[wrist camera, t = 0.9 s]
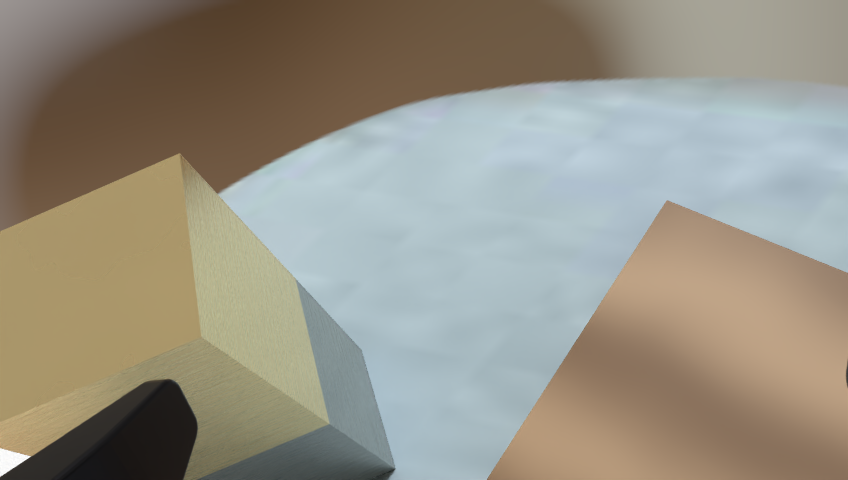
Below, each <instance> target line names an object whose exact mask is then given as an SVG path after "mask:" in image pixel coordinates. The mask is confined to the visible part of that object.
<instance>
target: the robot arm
mask: <svg viewBox="0 0 848 480" xmlns="http://www.w3.org/2000/svg"><path fill="white" fill-rule="evenodd" d="M846 382H847V387H848V361H847V368H846ZM197 433H198V422H197V418H196V416H195V414H194V412H193V410H192V408H191V406H190V404H189V402H188V401H187V399H186V397H185V395H184V393H183V391H182V389H181V387H180V386H179V384H178V383H177V382H176V381H174V380H172V379H160V380H150V381H146V382H144V383H142V384H141V385H139V386H138V387H136V388H134V389H133V390H131V391H130V392H128V393H127V394H125V395H124V396H122V397H121V398H119V399H118V400H116V401H115V402H113V403H112V404H110V405H109V406H107V407H106V408H104V409H103V410H101V411H100V412H98V413H97V414H95V415H94V416H92V417H91V418H89V419H87V420H86V421H84V422H83V423H81V424H80V425H78V426H77V427H75V428H74V429H72V430H71V431H69V432H68V433H66V434H65V435H63V436H62V437H60V438H59V439H57V440H56V441H54V442H53V443H51V444H50V445H48V446H47V447H45V448H44V449H42V450H40V451H39V452H37V453H36V454H34V455H33V456H31V457H30V458H28V459H27V460H25V461H24V462H22V463H21V464H19V465H18V466H16V467H15V468H13V469H12V470H10V471H9V472H7V473H6V474H4V475H3V476H1V477H0V480H184V477H185V474H186V470H187V467H188V464H189V460H190V457H191V454H192V451H193V447H194V444H195V441H196V438H197Z"/></svg>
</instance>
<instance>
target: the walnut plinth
mask: <svg viewBox="0 0 848 480" xmlns="http://www.w3.org/2000/svg"><path fill="white" fill-rule="evenodd" d="M847 361H848V273H846V272H844V271H841V270H839V269H836V268H834V267H831V266H829V265H827V264H824V263H822V262H819V261H817V260H814V259H812V258H809V257H807V256H804V255H802V254H799V253H797V252H794V251H792V250H789V249H787V248H784V247H782V246H779V245H777V244H774V243H772V242H769V241H767V240H764V239H762V238H759V237H757V236H754V235H752V234H749V233H747V232H745V231H742V230H740V229H737V228H735V227H732V226H730V225H727V224H725V223H722V222H720V221H717V220H715V219H712V218H710V217H707V216H705V215H702V214H700V213H697V212H695V211H692V210H690V209H687V208H685V207H682V206H680V205H677V204H675V203H672V202H670V201H666V202H665V204H664V206H663V207H662V209H661V210H660V212H659V213H658V215H657V216H656V218H655V220H654V221H653V223H652V224H651V226H650V227H649V229H648V230H647V232H646V233H645V235H644V237H643V238H642V240H641V241H640V243H639V244H638V246H637V247H636V249H635V251H634V252H633V254H632V255H631V257H630V258H629V260H628V261H627V263H626V264H625V266H624V268H623V269H622V271H621V272H620V274H619V275H618V277H617V278H616V280H615V282H614V283H613V285H612V286H611V288H610V289H609V291H608V292H607V294H606V296H605V297H604V299H603V300H602V302H601V303H600V305H599V306H598V308H597V309H596V311H595V313H594V314H593V316H592V317H591V319H590V320H589V322H588V323H587V325H586V327H585V328H584V330H583V331H582V333H581V334H580V336H579V337H578V339H577V340H576V342H575V344H574V345H573V347H572V348H571V350H570V351H569V353H568V354H567V356H566V358H565V359H564V361H563V362H562V364H561V365H560V367H559V368H558V370H557V372H556V373H555V375H554V376H553V378H552V379H551V381H550V382H549V384H548V385H547V387H546V389H545V390H544V392H543V393H542V395H541V396H540V398H539V399H538V401H537V403H536V404H535V406H534V407H533V409H532V410H531V412H530V413H529V415H528V416H527V418H526V420H525V421H524V423H523V424H522V426H521V427H520V429H519V430H518V432H517V434H516V435H515V437H514V438H513V440H512V441H511V443H510V444H509V446H508V447H507V449H506V451H505V452H504V454H503V455H502V457H501V458H500V460H499V461H498V463H497V465H496V466H495V468H494V469H493V471H492V472H491V474H490V475H489V477H488V479H487V480H848V387H847V382H846V368H847Z"/></svg>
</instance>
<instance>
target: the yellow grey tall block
mask: <svg viewBox="0 0 848 480" xmlns="http://www.w3.org/2000/svg"><path fill="white" fill-rule="evenodd" d="M160 379H172V380H174V381H176V382H177V383H178V384H179V386H180V387H181V389H182V391H183V393H184V395H185V397H186V399H187V401H188V402H189V404H190V406H191V408H192V410H193V412H194V414H195V416H196V418H197V422H198V433H197V438H196V441H195V444H194V447H193V451H192V454H191V457H190V460H189V464H188V467H187V470H186V474H185V477H184V480H369V479H372V478H374V477H377V476H379V475H381V474H384V473H386V472H389V471H391V470H394V469H395V465H394V462H393V458H392V455H391V451H390V448H389V444H388V441H387V437H386V434H385V430H384V427H383V424H382V420H381V417H380V413H379V410H378V406H377V403H376V399H375V396H374V392H373V389H372V385H371V382H370V378H369V375H368V371H367V368H366V364H365V361H364V357H363V354H362V350H361V349H360V348H359V347H358V346H357V345H356V344H355V343H354V341H353V340H352V339H351V338H350V337H349V336H348V335H347V334H346V333H345V332H344V331H343V330H342V328H341V327H340V326H339V325H338V324H337V323H336V322H335V321H334V320H333V319H332V318H331V317H330V315H329V314H328V313H327V312H326V311H325V310H324V309H323V308H322V307H321V306H320V305H319V304H318V303H317V301H316V300H315V299H314V298H313V297H312V296H311V295H310V294H309V293H308V292H307V291H306V290H305V288H304V287H303V286H302V285H301V284H300V283H299V282H298V281H297V280H296V279H295V278H294V277H293V276H292V274H291V273H290V272H289V271H288V270H287V269H286V268H285V267H284V266H283V265H282V264H281V263H280V261H279V260H278V259H277V258H276V257H275V256H274V255H273V254H272V253H271V252H270V251H269V250H268V248H267V247H266V246H265V245H264V244H263V243H262V242H261V241H260V240H259V239H258V238H257V237H256V236H255V234H254V233H253V232H252V231H251V230H250V229H249V228H248V227H247V226H246V225H245V224H244V223H243V221H242V220H241V219H240V218H239V217H238V216H237V215H236V214H235V213H234V212H233V211H232V210H231V209H230V207H229V206H228V205H227V204H226V203H225V202H224V201H223V200H222V199H221V198H220V197H219V196H218V194H217V193H216V192H215V191H214V190H213V189H212V188H211V187H210V186H209V185H208V184H207V183H206V182H205V180H204V179H203V178H202V177H201V176H200V175H199V174H198V173H197V172H196V171H195V170H194V169H193V167H192V166H191V165H190V164H189V163H188V162H187V161H186V160H185V159H184V158H183V157H182V156H181V155H180V154H177V155H175V156H173V157H170V158H168V159H166V160H163V161H161V162H159V163H156V164H154V165H152V166H150V167H147V168H145V169H143V170H140V171H138V172H136V173H134V174H131V175H129V176H127V177H124V178H122V179H120V180H118V181H115V182H113V183H111V184H108V185H106V186H104V187H101V188H99V189H97V190H95V191H92V192H90V193H88V194H85V195H83V196H81V197H79V198H76V199H74V200H72V201H69V202H67V203H65V204H62V205H60V206H58V207H55V208H53V209H51V210H49V211H46V212H44V213H42V214H39V215H37V216H35V217H32V218H30V219H28V220H26V221H23V222H21V223H19V224H16V225H14V226H12V227H10V228H7V229H5V230H3V231H0V448H2V449H6V450H9V451H13V452H17V453H21V454H24V455H28V456H33V455H34V454H36V453H37V452H39V451H40V450H42V449H44V448H45V447H47V446H48V445H50V444H51V443H53V442H54V441H56V440H57V439H59V438H60V437H62V436H63V435H65V434H66V433H68V432H69V431H71V430H72V429H74V428H75V427H77V426H78V425H80V424H81V423H83V422H84V421H86V420H87V419H89V418H91V417H92V416H94V415H95V414H97V413H98V412H100V411H101V410H103V409H104V408H106V407H107V406H109V405H110V404H112V403H113V402H115V401H116V400H118V399H119V398H121V397H122V396H124V395H125V394H127V393H128V392H130V391H131V390H133V389H134V388H136V387H138V386H139V385H141V384H142V383H144V382H146V381H150V380H160Z"/></svg>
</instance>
